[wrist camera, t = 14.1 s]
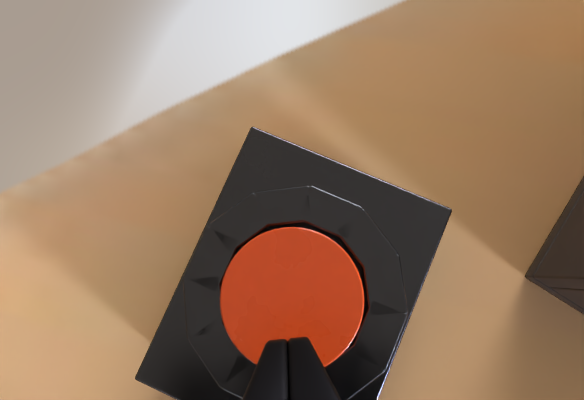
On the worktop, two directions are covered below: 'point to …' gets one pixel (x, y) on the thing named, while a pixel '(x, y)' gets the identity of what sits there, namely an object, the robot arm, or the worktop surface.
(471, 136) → the worktop surface
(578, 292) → the dark grey housing
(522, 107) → the worktop surface
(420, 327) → the worktop surface
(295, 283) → the button
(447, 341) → the worktop surface
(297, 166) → the red push button box
